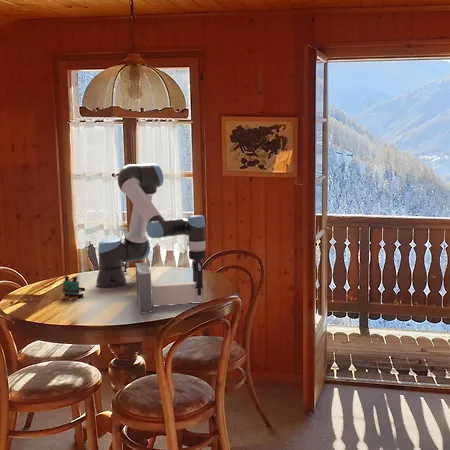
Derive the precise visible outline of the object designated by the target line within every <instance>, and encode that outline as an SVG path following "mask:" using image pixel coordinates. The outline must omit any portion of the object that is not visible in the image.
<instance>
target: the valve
mask: <svg viewBox="0 0 450 450" xmlns="http://www.w3.org/2000/svg"><path fill="white" fill-rule="evenodd" d="M128 268H129V267H128V266H127V263H125V262H123V263H122V269H123V272H124V273H127V270H128Z"/></svg>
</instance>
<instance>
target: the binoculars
mask: <svg viewBox="0 0 450 450" xmlns="http://www.w3.org/2000/svg"><path fill="white" fill-rule="evenodd" d="M71 278H72V281H71V280H70V276H68V275H64V280H63V281H62V294H63V297H62V298H63V300H64V299H66V300H67V299H70V297H71V300H73V301H74V300H77V299H78V298H81V297H84V293H81V292H85V291H86V288H85V287H80V282H79V281H77V279H78V276H75V277H71Z"/></svg>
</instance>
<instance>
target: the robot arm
mask: <svg viewBox="0 0 450 450" xmlns="http://www.w3.org/2000/svg"><path fill="white" fill-rule="evenodd" d="M117 184H118V187H119V190H120V191H121V192H122V194H123V195H126V196H127V197H128V198H129V200H130V201H131V203H132V211H131V217H130V222H129V228H128V229H129V230H128V232H126V233H125V234H124V239H122V238H120V237H109V238H105V239H103V240H101V241H99V242H98V250H97V251H98V267H99V268H98V269H99V270H98V273H97V277H96V282H95V283H96V284H95V285H96V286H97V287H99V288H101V287H102V288H117V287H122V286H123V287H124V286H126V284H127V278H126V277H125V272H123V271H124V270H123V269H122V263H128V262H137V261H138V262H139V261H142V260H145V259H147V258H148V257H149V254H150V251H151V243H150V241H149V239H148V237H149V238H151V239H161V238H166V237H175V236H188V242H187V246H188V249H189V250H188V258H189V260H192V282H196V287H195V288H196V302H202V288H203V283H204V281H203V276H204V275H203V262H202V260H205V259H206V253H207V252H206V219H205V216H204V215H202V214H201V215H199V214H195V215H193V214H192V215H189V216H188V217H186V218H185V217H176V218H173V219H165V218H164V217H163V216H162V215H161V213H160V211H158V209H157V207H156V206H155V205H154V204H153V202H152V200H153V195H154V194H156V193H157V189H158V188H160V187H161V186H163V184H164V173H163V170H162V168H161V166H159V164H157V163H137V164H134V163H133V164H131V163H130V164H126V165H125V166H123V167H122V168H121V169H120V171H119V172H118V175H117ZM146 234H147V235H148V236H147V235H146Z"/></svg>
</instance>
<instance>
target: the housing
mask: <svg viewBox="0 0 450 450" xmlns="http://www.w3.org/2000/svg"><path fill="white" fill-rule="evenodd" d="M151 274H152V273H151V271H150V269H149V266H148V264H147V262H135V285H136V288H135V289H136V293H135V294H136V303H137V305H138V310H139V314H142V313H141V312H148V313H151V312H150V311H152V312H153V305H152V275H151Z"/></svg>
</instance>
